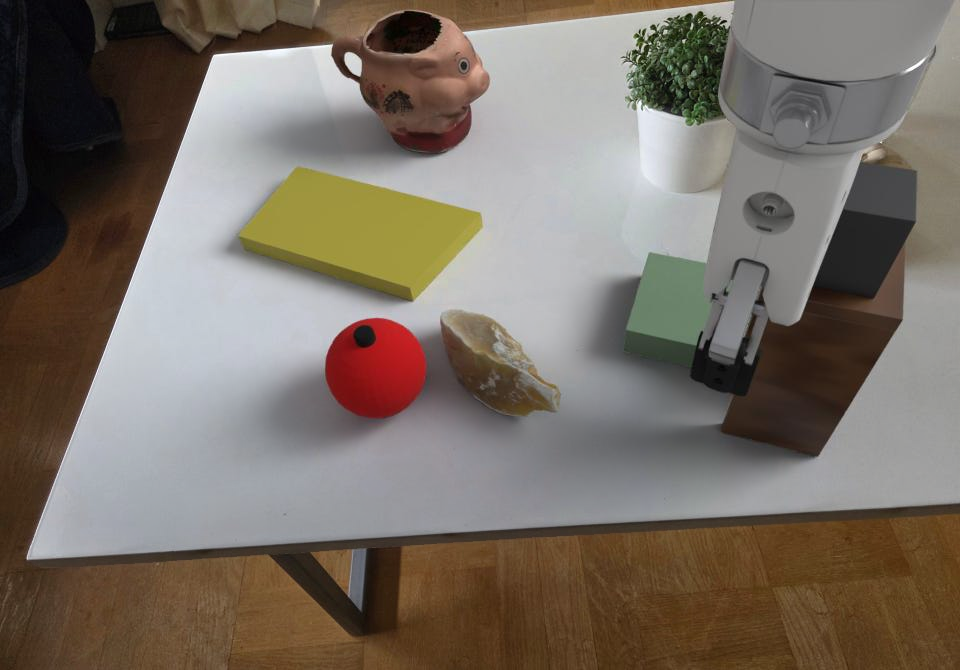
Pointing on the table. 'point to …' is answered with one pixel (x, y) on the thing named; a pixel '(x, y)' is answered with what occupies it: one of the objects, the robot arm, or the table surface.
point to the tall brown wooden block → (816, 365)
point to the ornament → (375, 368)
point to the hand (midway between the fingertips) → (741, 321)
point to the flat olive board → (360, 232)
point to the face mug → (417, 77)
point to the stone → (494, 365)
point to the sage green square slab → (668, 310)
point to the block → (870, 230)
